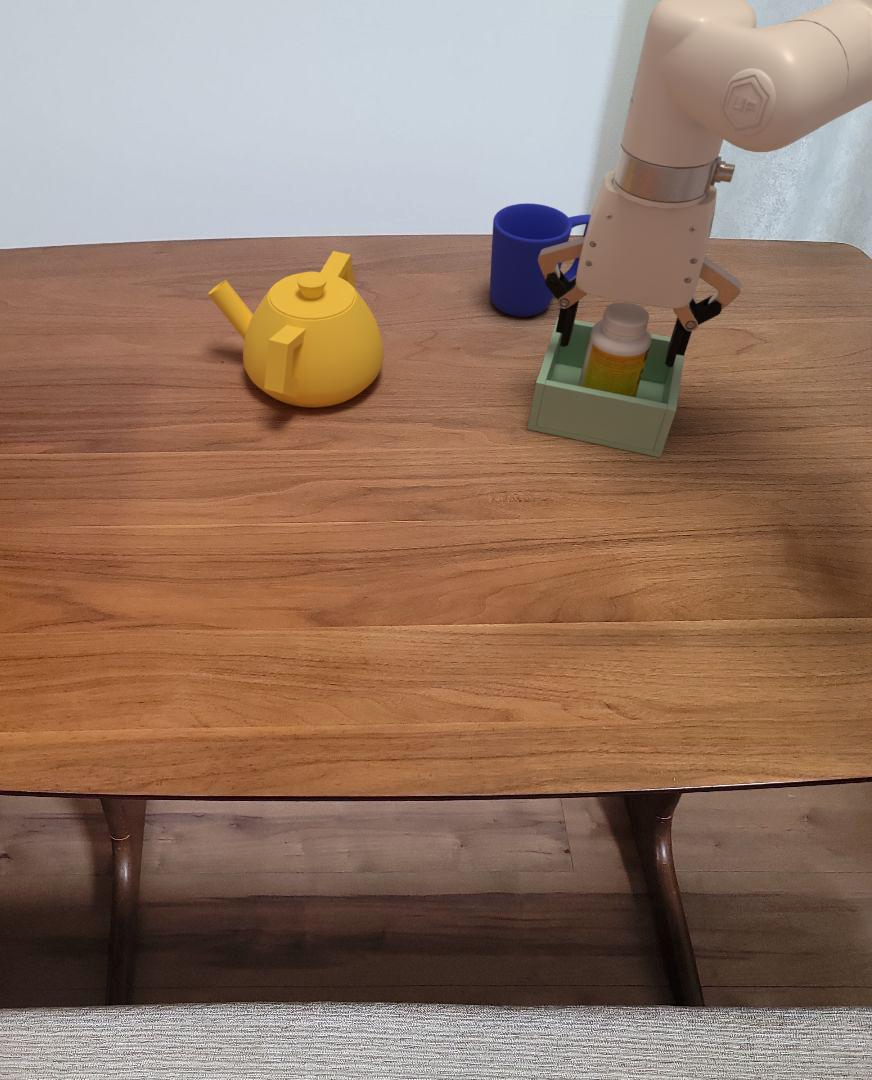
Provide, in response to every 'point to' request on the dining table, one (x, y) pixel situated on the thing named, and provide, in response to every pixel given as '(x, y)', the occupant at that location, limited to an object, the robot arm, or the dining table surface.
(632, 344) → the supplement bottle
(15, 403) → the dining table surface
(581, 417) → the bin
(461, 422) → the dining table surface
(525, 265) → the mug
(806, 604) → the dining table surface
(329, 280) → the teapot
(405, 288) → the dining table surface
